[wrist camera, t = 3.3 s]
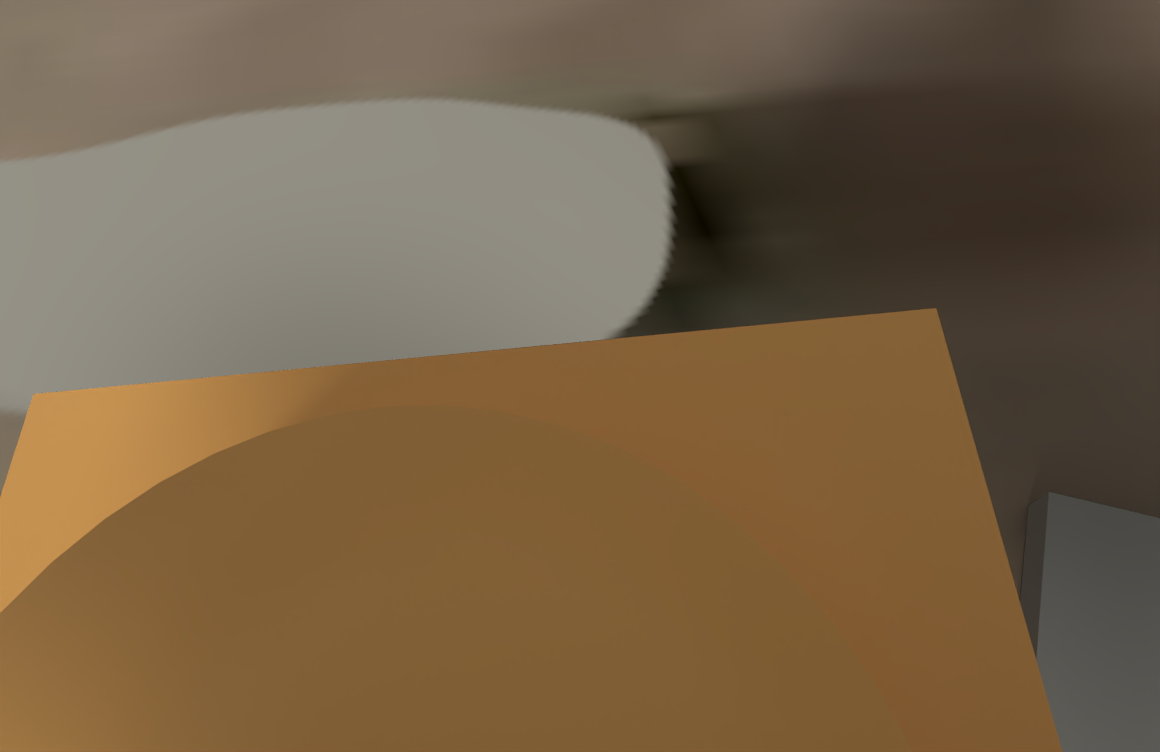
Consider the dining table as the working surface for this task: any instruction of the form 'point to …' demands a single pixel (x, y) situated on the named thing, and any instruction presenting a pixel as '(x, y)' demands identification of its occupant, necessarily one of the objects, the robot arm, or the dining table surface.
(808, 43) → the dining table surface
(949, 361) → the domed orange pillar
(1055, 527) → the plate
